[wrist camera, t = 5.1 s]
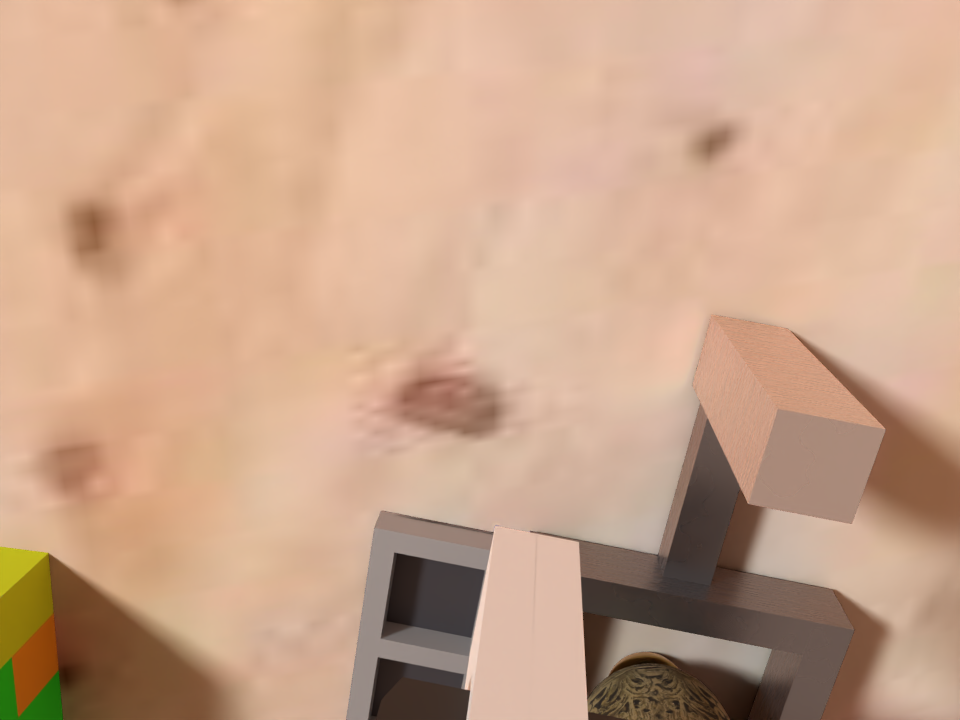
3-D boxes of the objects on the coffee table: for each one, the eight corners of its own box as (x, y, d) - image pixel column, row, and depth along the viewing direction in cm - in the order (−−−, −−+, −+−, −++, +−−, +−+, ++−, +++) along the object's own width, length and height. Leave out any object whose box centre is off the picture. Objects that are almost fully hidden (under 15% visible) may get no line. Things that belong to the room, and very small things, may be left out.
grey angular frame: (748, 820, 40) (809, 1048, 30) (479, 765, 40) (457, 975, 31) (918, 353, 32) (1071, 464, 23) (583, 290, 32) (595, 374, 23)
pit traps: (469, 749, 40) (466, 773, 39) (349, 724, 40) (342, 748, 39) (514, 536, 36) (513, 554, 35) (381, 510, 37) (374, 527, 35)
